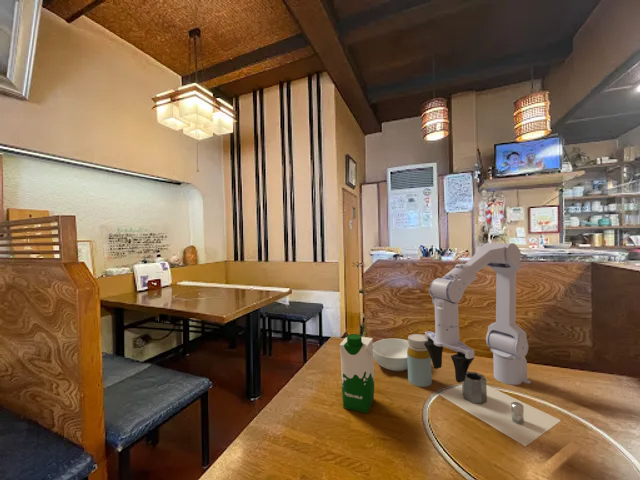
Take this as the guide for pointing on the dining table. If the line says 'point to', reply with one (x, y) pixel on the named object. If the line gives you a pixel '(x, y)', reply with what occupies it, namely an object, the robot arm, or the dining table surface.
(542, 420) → the board
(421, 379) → the bottle
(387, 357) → the cereal bowl
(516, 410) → the cylinder
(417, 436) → the dining table surface
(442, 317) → the robot arm
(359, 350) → the milk carton
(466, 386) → the gray faceted cup
